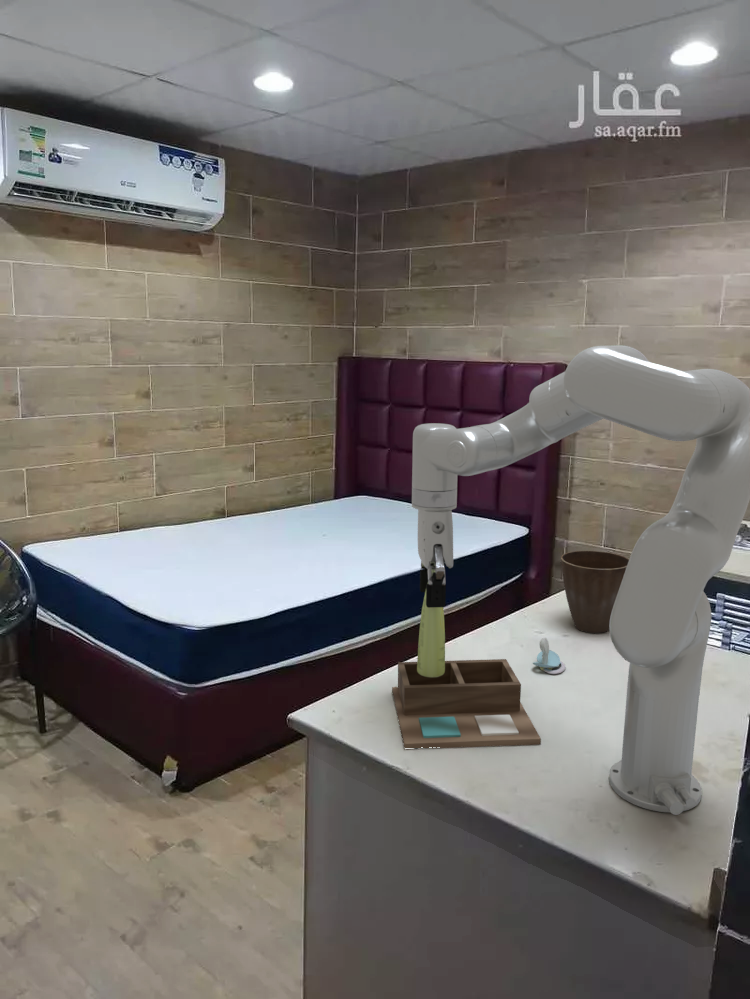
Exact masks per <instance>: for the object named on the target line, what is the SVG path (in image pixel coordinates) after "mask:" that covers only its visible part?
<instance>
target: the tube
mask: <svg viewBox="0 0 750 999" xmlns="http://www.w3.org/2000/svg"><path fill="white" fill-rule="evenodd" d="M434 566H435V563H434ZM433 572H435V570H432V574H433ZM444 611H445V610H444V607H431V608H428V607H427V606H426V591H425V592H424V597H423V602H422V607H421V614H420V615H421V616H420V622H419V631H418V632H419V633H418V634H419V635H418V645H417V647H418V648H417V661H416V662H417V672H418V673H419V674H420V675H422V676H425V677H439V676H441V675H443V674H444V673H445V661H446V632H445V630H446V629H445V613H444Z"/></svg>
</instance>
